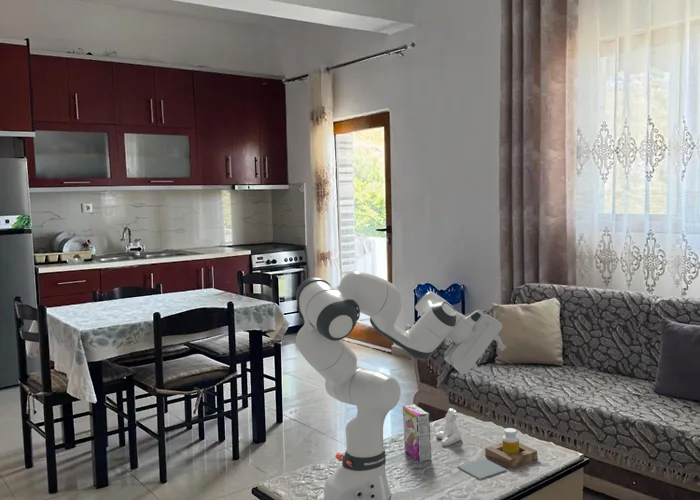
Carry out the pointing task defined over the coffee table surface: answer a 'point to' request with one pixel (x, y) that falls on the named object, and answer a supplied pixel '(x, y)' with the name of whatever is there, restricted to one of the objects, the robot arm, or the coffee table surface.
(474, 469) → the rubber mat
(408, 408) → the candy bar box
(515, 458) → the pocket block
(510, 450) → the supplement bottle
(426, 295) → the robot arm
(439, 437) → the sitting furry creature
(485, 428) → the coffee table surface
